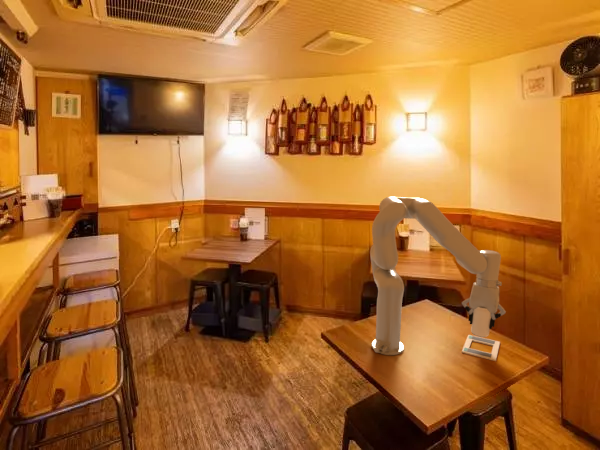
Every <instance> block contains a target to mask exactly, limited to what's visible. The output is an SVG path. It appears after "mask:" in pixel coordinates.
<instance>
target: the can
mask: <svg viewBox="0 0 600 450" xmlns="http://www.w3.org/2000/svg"><path fill="white" fill-rule="evenodd" d="M487 309H488V308H482V307H479V306H478V308H476V309H474V311H473V320H472V324H471V327H470V332H471V334H472V335H473V336H477V337H481V338H487V337H488V336H489V335H490V331H491V329H490V328H489V327H490V320H491V313H490V312H489V311H488V310H487Z"/></svg>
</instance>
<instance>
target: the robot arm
mask: <svg viewBox="0 0 600 450" xmlns="http://www.w3.org/2000/svg"><path fill="white" fill-rule="evenodd" d="M378 207H379V208H378V209H379V212H378V213H377V214H376V216H375V218H374V220H373V222H372V225H371V227H372V228H371V237H372V245H371V247H370V250H369V254H370V256H369V257H370V263H371V269H372V270H371V271H372V275H373V280H374V283H375V284H376V287H377V298H376V319H375V320H376V321H375V322H376V325H375V339H374V340H372V341H371V348H372V349H373V351H374V352H375V353H378V354H381V355H385V356H396V355H400V354H402V353H403V352H404V349H405V346H404V344H403V343H402V342H401V328H402V324H401V323H402V305H403V304H402V303H403V297H404V292H405V284H404V281H403V278H402V277H401V276H400V275H399V273H398V272H397V270H396V269H397V268H396V267H397V264H398V262H399V252H398V249H397V248H398V247H397V241H396V228H397V226H398V225H399V223H400V222H401V221H403V220H404V219H408V220H409V219H413V220H414V219H415V220H416V221H417V222H418V223H419V224H420V225H421V226H422V228H424V230H425V231H426V232H427V233H429V235H430V236H431V237H432V238H433V239H434V240H435V241H436V242H437V243H438V244H439V245H440V246H441V247H443V248H444V249H445V250H446V251H448V252H450V254H451V255H453V257H455V261H456V263H457V264H458V265H459V266H460V267H461V268H463V269H465V270H466V271H467V272H469V273H470V274H473V275H476V276H475V277H476V278H475V282H473V284H472V287H471V290H470V291H471V292H470V296H469V297H468V298H466V299H465V300H463V301H461V305H462V306H463V308H464V309H465V310H466V312H467V313H468V322H469V325H472V320H473V312H474V309H476V308H478V306H479V307H482V308H488V309H487V310H488V311H489V312H490V313H491V320H490V327H489V328H490V330H492V328H494V327H495V323H496V319H499V318H500V317H502V316H503V315H505V314H506V312H507V311H506V310H505V308H504V307H503V306H502V305H501V304H500V287H499V286H502V285H503V284H502V281H499V274H500V266H501V260H502V256H501V253H500V252H498V251H495V250H492V249H491V250H489V249H484V250H483V249H482V250H478V248H477V247H476V246H474V244H472V242H471V241H470V240H469V239H468V238H466V237H465V236H464V235H463V234H462V232H461V231H460V230H459V229H458V228H457V227H456V226H455V225H454V224H453V223H452V222H451V221H450V220H449V219H448V218H447V217H446V216H445V215H444V214H443V212H442V211H441V210H440V209H439V208H438V207H437V206H436V205H435V203H433V202H432V201H429V200H427V199H425V198H420V197H403V196H402V197H401V196H388V197H385V198H384V199H382V200H381V201H380V204H379V205H378ZM498 310H499V312H498Z"/></svg>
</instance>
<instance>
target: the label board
mask: <svg viewBox="0 0 600 450" xmlns="http://www.w3.org/2000/svg"><path fill="white" fill-rule="evenodd" d="M472 342H473V343H474V342H475V343H479V344H483V345H488V346H492V349H491V352H487V351H482V350H479V349H475V348H471V345H472ZM500 345H501V341H498V340H494V339H490V338H487V337H478V336H476V335H473V334H472V335H471V334H468V335H467V337H466V340H465V342H464V344H463V347H462V350H461V353H462V354H466V355H470V356H475V357H478V358H482V359H486V360H490V361H494V362H497V357H498V354H499V349H500Z"/></svg>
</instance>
